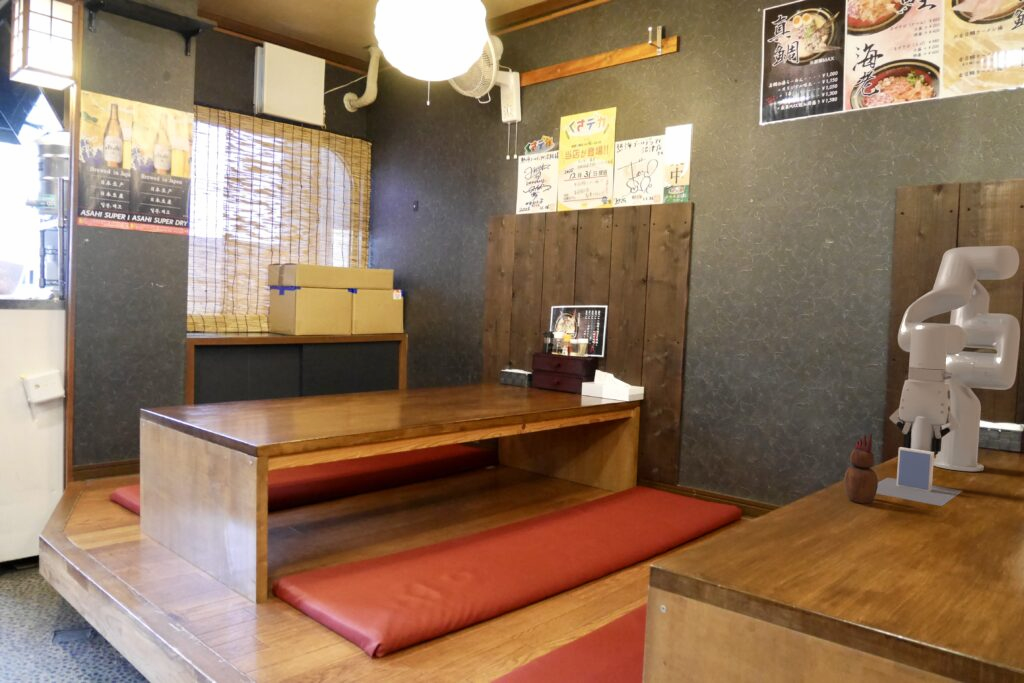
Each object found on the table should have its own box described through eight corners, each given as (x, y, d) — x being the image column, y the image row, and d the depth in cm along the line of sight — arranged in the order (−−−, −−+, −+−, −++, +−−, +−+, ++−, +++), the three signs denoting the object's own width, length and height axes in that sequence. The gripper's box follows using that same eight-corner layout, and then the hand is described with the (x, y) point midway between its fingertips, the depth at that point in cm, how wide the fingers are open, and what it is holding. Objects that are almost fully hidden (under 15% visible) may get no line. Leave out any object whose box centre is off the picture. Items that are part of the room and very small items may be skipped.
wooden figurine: (881, 506, 149) (885, 435, 148) (853, 505, 149) (857, 434, 148) (865, 497, 155) (869, 430, 155) (839, 496, 155) (843, 429, 155)
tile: (898, 484, 167) (900, 447, 167) (931, 490, 163) (934, 452, 162) (896, 485, 166) (898, 447, 166) (929, 491, 161) (932, 452, 161)
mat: (887, 479, 175) (887, 477, 175) (962, 492, 164) (962, 490, 164) (861, 492, 160) (861, 490, 160) (941, 507, 149) (941, 506, 149)
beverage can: (935, 466, 165) (939, 415, 164) (913, 465, 166) (916, 414, 165) (928, 462, 170) (931, 412, 169) (906, 460, 171) (909, 411, 170)
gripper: (972, 378, 164) (966, 456, 165) (892, 372, 175) (887, 444, 176) (965, 380, 158) (959, 460, 159) (882, 373, 170) (878, 448, 171)
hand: (921, 451), depth 168 cm, fingers closed on beverage can, 4 cm apart
